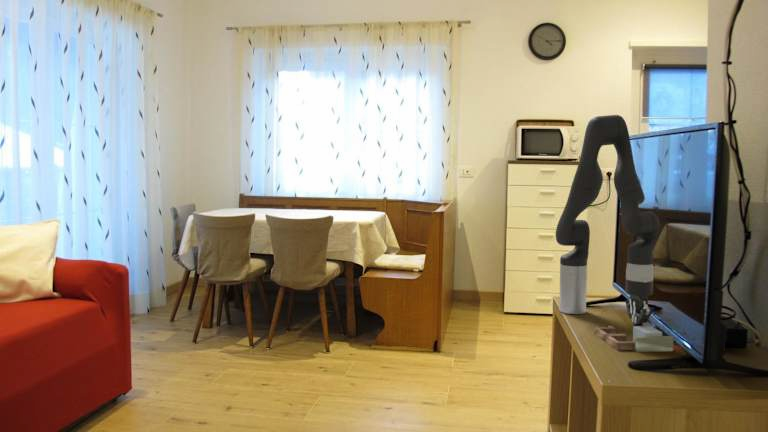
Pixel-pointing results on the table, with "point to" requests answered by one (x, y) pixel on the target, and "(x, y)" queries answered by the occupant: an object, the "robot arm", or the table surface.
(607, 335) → the trap lane
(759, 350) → the table surface
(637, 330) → the blue grey block
